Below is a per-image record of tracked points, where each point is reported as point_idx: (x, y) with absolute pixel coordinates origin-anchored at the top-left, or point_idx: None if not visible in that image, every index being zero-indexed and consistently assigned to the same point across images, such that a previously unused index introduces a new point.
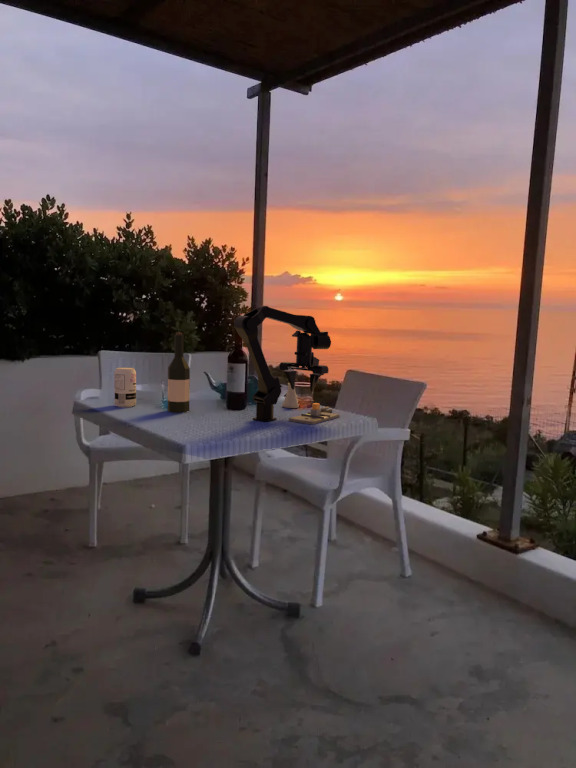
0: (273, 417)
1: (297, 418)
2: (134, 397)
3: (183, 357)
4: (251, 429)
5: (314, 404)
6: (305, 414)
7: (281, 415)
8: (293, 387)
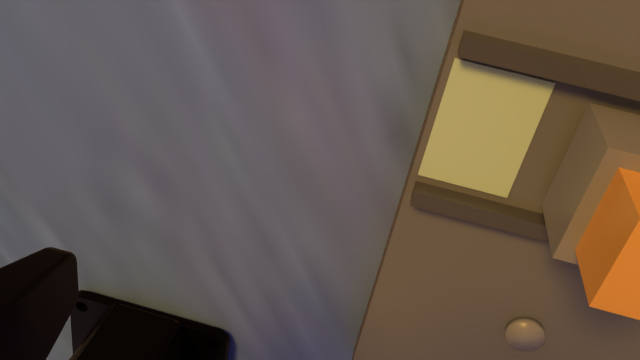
0: (189, 329)
1: (430, 353)
2: None
3: None
4: None
5: (630, 313)
6: (474, 222)
7: (153, 120)
8: (49, 317)
